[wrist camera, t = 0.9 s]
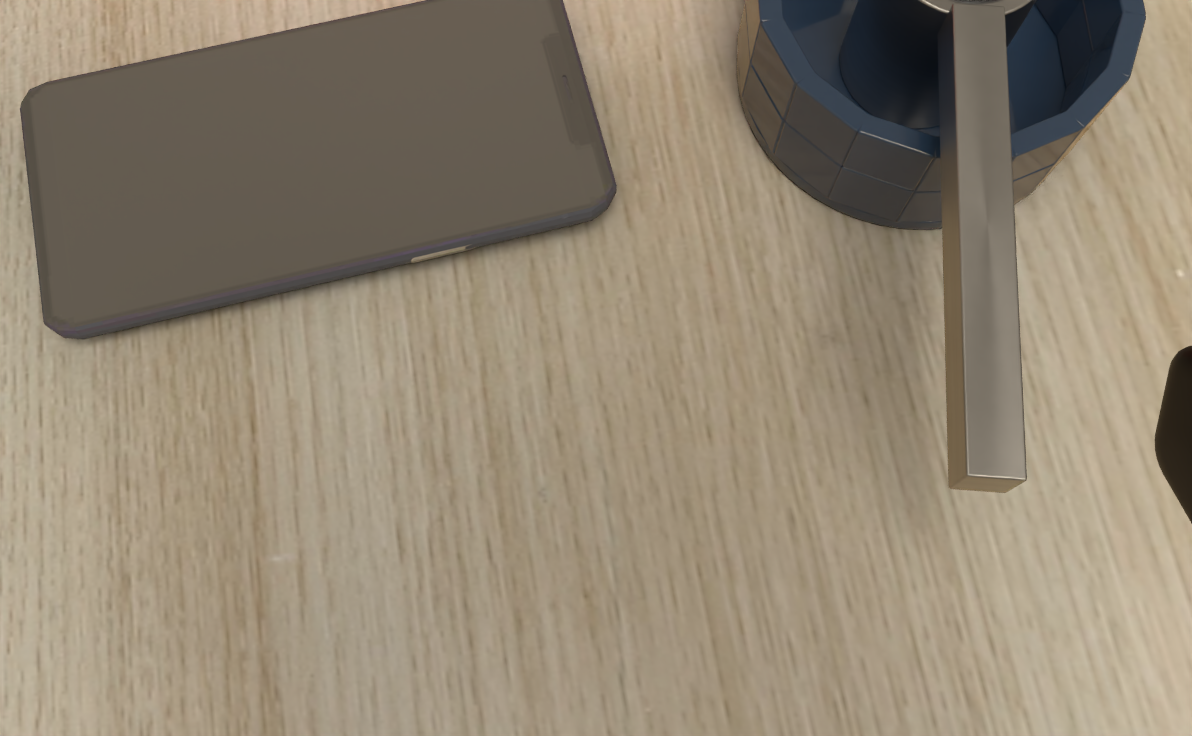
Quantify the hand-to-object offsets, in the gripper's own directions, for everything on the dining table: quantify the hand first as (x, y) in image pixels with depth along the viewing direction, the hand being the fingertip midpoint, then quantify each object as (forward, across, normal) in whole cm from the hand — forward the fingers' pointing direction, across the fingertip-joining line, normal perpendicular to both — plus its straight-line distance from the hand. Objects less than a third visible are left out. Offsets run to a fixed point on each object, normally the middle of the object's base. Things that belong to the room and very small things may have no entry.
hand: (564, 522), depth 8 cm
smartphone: (+24, +4, +7) cm, 25 cm away
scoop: (+19, -11, +10) cm, 24 cm away
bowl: (+23, -12, +7) cm, 27 cm away
